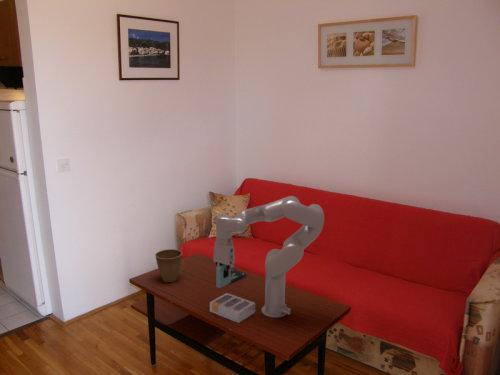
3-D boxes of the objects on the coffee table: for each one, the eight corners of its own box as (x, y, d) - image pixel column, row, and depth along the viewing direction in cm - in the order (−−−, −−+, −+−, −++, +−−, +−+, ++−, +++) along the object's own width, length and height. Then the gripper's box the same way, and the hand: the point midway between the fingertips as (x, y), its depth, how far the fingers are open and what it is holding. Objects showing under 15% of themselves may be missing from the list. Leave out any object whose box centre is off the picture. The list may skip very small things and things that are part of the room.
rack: (255, 312, 211) (255, 302, 210) (238, 323, 200) (238, 312, 199) (226, 301, 221) (226, 292, 220) (209, 311, 211) (209, 301, 210)
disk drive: (233, 273, 260) (216, 280, 248) (233, 268, 259) (216, 275, 248) (246, 277, 253) (229, 285, 242) (246, 273, 252) (229, 280, 241)
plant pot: (174, 272, 257) (174, 247, 254) (187, 281, 246) (187, 254, 242) (151, 279, 248) (150, 252, 244) (163, 288, 236) (163, 260, 233)
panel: (230, 282, 214) (230, 263, 212) (220, 288, 208) (220, 268, 206) (226, 281, 215) (226, 262, 213) (216, 286, 209) (216, 267, 207)
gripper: (241, 242, 205) (241, 278, 209) (216, 235, 215) (216, 269, 218) (231, 246, 199) (231, 283, 203) (206, 238, 209) (206, 274, 212)
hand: (223, 276), depth 211 cm, fingers closed on panel, 2 cm apart
